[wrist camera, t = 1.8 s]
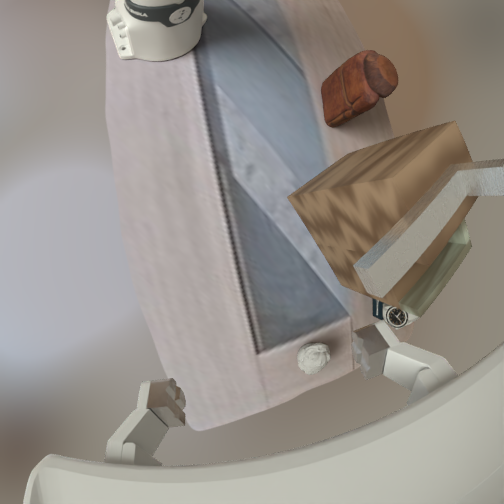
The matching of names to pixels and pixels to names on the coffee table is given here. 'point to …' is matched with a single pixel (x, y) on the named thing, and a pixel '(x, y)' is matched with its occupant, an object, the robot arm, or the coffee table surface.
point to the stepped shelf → (387, 210)
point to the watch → (392, 314)
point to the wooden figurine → (357, 86)
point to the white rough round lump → (313, 357)
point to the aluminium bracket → (426, 222)
